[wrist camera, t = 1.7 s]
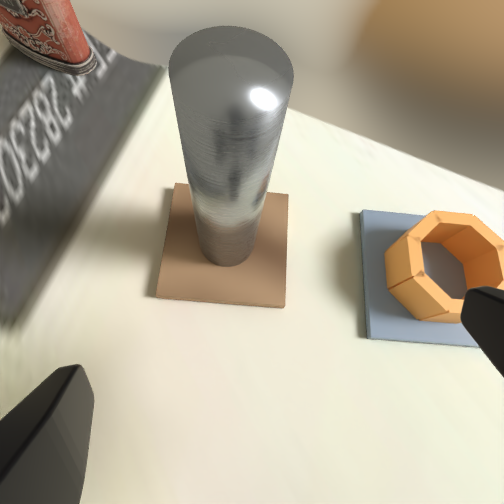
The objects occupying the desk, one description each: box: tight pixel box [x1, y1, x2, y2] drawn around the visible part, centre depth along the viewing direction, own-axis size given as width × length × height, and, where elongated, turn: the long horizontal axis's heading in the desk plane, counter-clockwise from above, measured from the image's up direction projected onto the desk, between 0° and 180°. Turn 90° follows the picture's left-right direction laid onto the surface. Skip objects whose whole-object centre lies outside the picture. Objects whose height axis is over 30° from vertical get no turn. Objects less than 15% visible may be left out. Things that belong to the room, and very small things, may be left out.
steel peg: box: [168, 26, 294, 267], centre depth 15 cm, size 4×4×13 cm
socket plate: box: [360, 210, 504, 347], centre depth 21 cm, size 9×9×4 cm
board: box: [156, 183, 288, 308], centre depth 22 cm, size 8×8×1 cm
